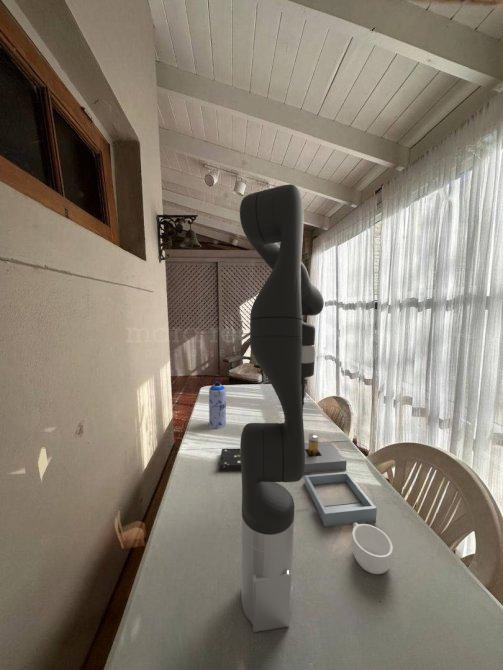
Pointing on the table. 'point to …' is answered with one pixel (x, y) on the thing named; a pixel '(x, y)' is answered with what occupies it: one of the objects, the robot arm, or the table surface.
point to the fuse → (313, 445)
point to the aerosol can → (217, 406)
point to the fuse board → (324, 459)
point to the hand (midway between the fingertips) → (299, 410)
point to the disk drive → (230, 460)
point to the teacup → (371, 548)
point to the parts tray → (342, 512)
